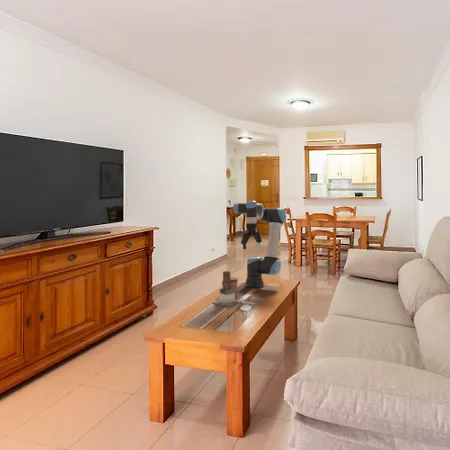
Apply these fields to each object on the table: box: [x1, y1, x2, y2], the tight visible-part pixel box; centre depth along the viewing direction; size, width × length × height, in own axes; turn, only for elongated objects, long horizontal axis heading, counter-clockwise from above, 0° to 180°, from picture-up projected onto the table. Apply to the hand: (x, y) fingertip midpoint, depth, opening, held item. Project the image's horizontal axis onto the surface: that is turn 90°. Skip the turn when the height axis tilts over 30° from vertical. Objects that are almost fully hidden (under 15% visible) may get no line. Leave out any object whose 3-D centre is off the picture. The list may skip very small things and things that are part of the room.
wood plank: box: [222, 270, 231, 293], centre depth 289 cm, size 3×4×15 cm
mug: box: [221, 276, 239, 298], centre depth 308 cm, size 13×9×14 cm
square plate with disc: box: [212, 287, 242, 308], centre depth 290 cm, size 14×14×10 cm
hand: (251, 252), depth 300 cm, fingers open, 13 cm apart
